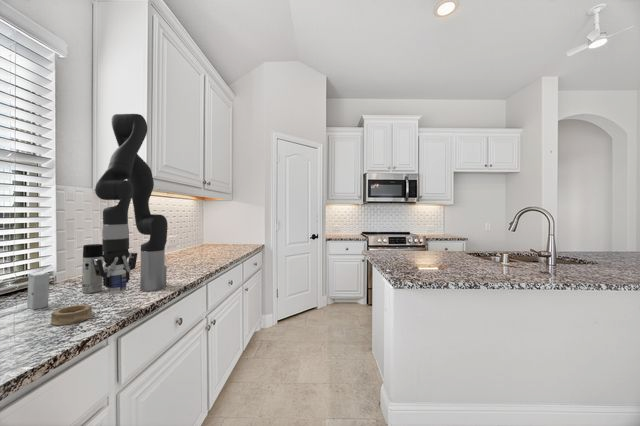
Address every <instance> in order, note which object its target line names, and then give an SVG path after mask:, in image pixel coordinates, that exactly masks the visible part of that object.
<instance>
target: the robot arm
mask: <svg viewBox="0 0 640 426" xmlns="http://www.w3.org/2000/svg"><path fill="white" fill-rule="evenodd" d="M111 127H112V130H113V134H114V137H115V139H116V143H117V146H118V148H116V149H115V150H114V152H113V153H112V154H111V157H110V160H109V164H108V167H107V169H106V170H105V172H104V173H103V174H102V175H101V176H100V178H99V179H98V181H97V182H96V184H95V186H94V189H95V190H94V191H95V195H96V196H97V198H98V199H100V200H105V201H118V203H117V204H116V205H114V206H109V207H108V206H107V207H105V208H103V210H102V230H101V236H102V243H101V244H103V256H102V258H99V259H93V265H94V268H95V272H96V275H97V276H102V286H103V287H105V288H107V289H108V288H109V287H111V277H110V275H111V272H112V270H114V267H115V265H120V264H124V268H123V269H124V270H126V284H127V283H129V282H130V279H131V278H130V277H131V276H130V275H131V274H130V272H131V271H133V270H135V269H136V264H137V259H138V253H137V252H129V249H130V229H129V214H128V213H129V208H130V204H131V201H132V205H133V212H134V213H133V214H134V221H135V226H136V230H137V231H138V233H140V234H141V235H147V236H149V239H148V241H146V242H144V243H141V245H140V269H139V270H140V271H139V272H140V280H139V281H140V282H139V283H140V284H139V285H140V286H139V289H140V291H142V292H155V291H159V290H162V289H164V288H165V287H167V267H168V266H166V265H165V264H166V263H165V261H166V260H165V259H166V258H165V257H166V256H165V254H166V253H165V251H166V250H165V249H166V248H165V247H166V244H167V241H168V240H167V238H168V220H167V218H166V217H165V216H164V215H163V214H153V213H151V211H150V206H149V205H150V204H149V203H150V198H151V196H152V193H153V190H154V186H155V184H154V183H155V182H154V178H153V173H152V169H151V167H150V166H149V165H148V164H147V162H146V161H144V159H143V158H142V157H141V156H140V155H139V154H138V152H139V151H140V149H141V146H142V145H143V142H144V141H145V139H146V136H147V133H148V124H147V121H146V119H145V117H144V115H142V114H140V113H117V114H113V115H112V116H111ZM104 262H105V263H104ZM102 264H103V265H102Z"/></svg>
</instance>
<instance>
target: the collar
mask: <svg viewBox="0 0 640 426" xmlns="http://www.w3.org/2000/svg"><path fill="white" fill-rule="evenodd" d="M92 306H93V305H90V304H86V303H85V304H83V303H82V304H75V305H68V306H65V307H61V308H60V307H59V308H57V309H55V310H53V312H52V313H51V319H50V325H53V326H67V325H66V324H69V325H73V323H74V324H79V323H81V321H82V322H85V321H87V320H89V319H91V318H92V317H93V312H92V310H93V309H92ZM86 319H87V320H86ZM84 320H85V321H84Z"/></svg>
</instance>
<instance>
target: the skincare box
mask: <svg viewBox="0 0 640 426" xmlns="http://www.w3.org/2000/svg"><path fill="white" fill-rule="evenodd" d="M50 275H51V273H48V272H47V271H44V270H42V271H35V272H29V273H28V276H27V277H28V279H27V299H26V300H27V301H26V307H28V309H30V310H38V309H43V308H46V307H49V294H50V280H51V279H50V277H51V276H50Z"/></svg>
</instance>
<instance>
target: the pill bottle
mask: <svg viewBox="0 0 640 426" xmlns="http://www.w3.org/2000/svg"><path fill="white" fill-rule="evenodd" d="M123 268H124V264H120V265H115V267H114V270H112V272H111V275H110V277H111V287H109V288H107V293H108V294H109V295H115V294H117V295H118V294H122V293H124V292H126V291H127V283H126V270H124V269H123Z"/></svg>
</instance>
